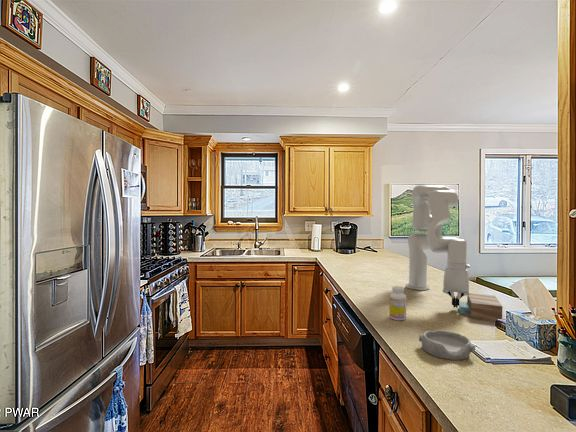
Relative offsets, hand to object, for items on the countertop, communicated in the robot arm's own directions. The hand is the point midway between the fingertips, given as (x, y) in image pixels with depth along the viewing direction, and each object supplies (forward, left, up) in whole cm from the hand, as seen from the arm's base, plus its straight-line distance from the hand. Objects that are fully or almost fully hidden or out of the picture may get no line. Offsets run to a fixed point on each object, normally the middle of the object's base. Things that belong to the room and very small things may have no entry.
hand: (455, 306), depth 147 cm
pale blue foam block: (0, +8, -2) cm, 8 cm away
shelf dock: (0, +10, -2) cm, 11 cm away
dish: (+49, -6, -2) cm, 49 cm away
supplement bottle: (+23, -23, -2) cm, 32 cm away
